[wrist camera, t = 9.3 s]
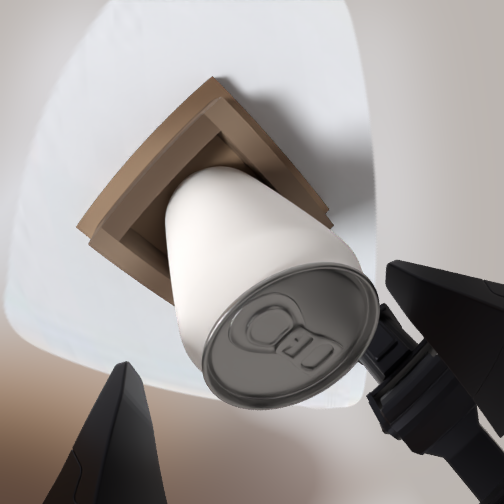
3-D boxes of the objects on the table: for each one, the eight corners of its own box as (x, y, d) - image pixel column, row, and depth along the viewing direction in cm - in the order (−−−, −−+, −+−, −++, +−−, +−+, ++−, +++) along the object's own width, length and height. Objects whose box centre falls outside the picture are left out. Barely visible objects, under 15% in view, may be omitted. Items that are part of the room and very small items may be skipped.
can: (213, 142, 16) (316, 191, 6) (285, 209, 20) (414, 314, 9) (143, 225, 17) (138, 383, 7) (220, 279, 20) (288, 429, 10)
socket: (322, 205, 21) (353, 224, 18) (209, 316, 23) (220, 351, 19) (209, 78, 15) (223, 67, 12) (79, 221, 17) (63, 247, 13)
